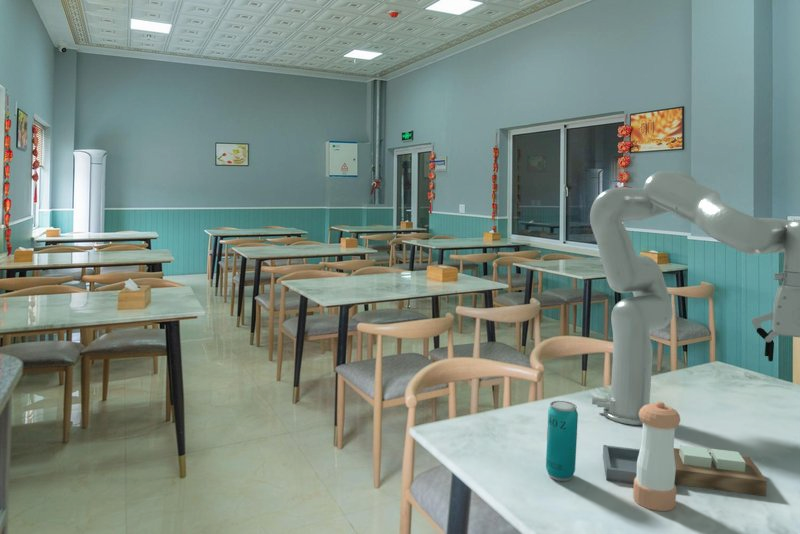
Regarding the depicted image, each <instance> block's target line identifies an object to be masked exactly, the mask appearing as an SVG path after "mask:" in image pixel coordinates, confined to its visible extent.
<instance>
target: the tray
mask: <svg viewBox="0 0 800 534" xmlns="http://www.w3.org/2000/svg"><path fill="white" fill-rule="evenodd" d="M602 447H603V448H602V459H603V466H604V472H605V480H606V481H608V482H609V481H611V482H615V483H616V482H617V483H623V484H624V483H625V484H632V485H634V479H635V477H637V460H638V455H639V451H640V448H639V449H638V448H630V447H623V446H614V445H606V444H603V446H602ZM675 479H676V478H675ZM674 484H675V481H674ZM675 485H676V484H675Z"/></svg>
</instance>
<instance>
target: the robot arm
mask: <svg viewBox="0 0 800 534" xmlns="http://www.w3.org/2000/svg"><path fill="white" fill-rule="evenodd" d="M667 213H672V214H673V215H676V216H677V217H679V218H681V219H683V220H686V221H688V222H690V223H692V224H693V225H695V226H696V227H698V229H700V230H701V231H702V232H703V233H704V234H706V235H707V236H708V237H711V238H712V239H714V240H716V241H718V242H719V243H721V244H723V245H726V246H728V247H730V248H732V249H734V250H736V251H739V252H741V253H744V254H748V255H763V254H766V255H768V254H776V253H778V254H779V253H784V254H783V255H784V257H783V268H782V269H783V270H782V271H781V272H780V273H774V275H773V276H774V277H773V278H774V281H779V282H780V283H782V284H780V285H778V286H777V289H776V293H775V296H774V300H773V307H772V311H771V312H768V313H765V314H761V315H758V316H756V317H753V318H751V322H752V323H751V324H752V325H753V326H754V329H755V331H756V333H757V334H758V335H759V336H760V337H761V338H762V339H763V340H764V341H765V343H764V344H765V346H764V356H765V357H767V359H768V362H773V361H774V353H775V352H774V351H775V342H774V339H775V338H777V337H778V336H783V337H793V338H794V337H795V338H800V219H794V220H791V219H784V218H778V217H777V218H776V217H754V216H752V215H749V214H746V213H745V212H743V211H740V210H739V209H736V208H733V207H732V206H731V205H728V204H726V203H725V202H723V201H722V200H721V195H720V193H719V192H718V191H717V190H714V189H712V188H709V187H707V186H705V185H702V184H700V183H697V181H696V179H695V178H694V177H693V176H692V175H690V174H688V172H687V173H686V172H683V171H673V170H672V171H671V170H660V171H657V172H654V173H653V174H651V175H650V176H649V177H647V179H646V180H645V182H644V186H643V187H641V188H639V187H623V186H622V187H621V186H620V187H612V188H609V189H606V190H603V191H602V192H600V194H598V195H597V196H596V198H595V199H594V201H593V203H592V205H591V208H590V211H589V223H590V226H591V230H592V232H593V236H594V238H595V241H596V245H597V247H598V252H599V257H600V259H601V264H602V266H603V271H604V273H605V274H604V275H605V278H606V281H607V283H608V286H609V287H610V289H611V290H613V291H614V292H615V293H619V294H626V293H627V294H628V293H632V295H633V296H630V297H627V298H626V297H625V298H623V299H621V300H620V301H618V302H617V303H615V305H614V307H613V309H611V310H612V311H611V314H610V315H611V316H610V319H611V320H610V321H611V329H612V330H611V331H612V338H613V339H612V342H613V343H612V344H613V345H612V346H613V347H612V366H611V367H612V368H611V382H610V383H611V388H610V394H609V393H608V397H606V396H604V397H603V398H602V397H597V396H596V397H595V396H591V405H596V407H597V408H603V415H604V416H605V417H606V418H607V419H610V420H611V421H614V422H618V423H620V424H625V425H632V426H643V422H642V421H641V420H640V418H639V411H640V409H641V408H642V407H643V406H644V405H648V404H651V403H650V400H651V388H652V369H653V353H654V352H653V344H652V340H651V337H650V336H651V335H650V333H651V332H655V331H659V330H662V329H664V328H666V327H667V326H669V324H670V323H671V321H672V318H673V315H674V314H673V313H674V312H673V306H672V302H671V298H670V294H669V292H668V288H667V284H666V281H665V276H664V275H663V272H662V269H661V267H660V266H659V264H658V263H657V261H655V260H654V259H653V258H652V257H651V256H647V255H642V254H641V255H637V253H636V250H635V247H634V245H633V244H634V243H633V240H632V236H631V235H630V233H629V231H628V229H626V228H625V226H624V223H623V222H624V221H643V220H648V219H652V218H655V217H657V216H660V215H664V214H667ZM768 321H771V329H770V330H769V331H768V332H767V331H766V330H765V329H764V328H763V326H762V323H766V322H768Z"/></svg>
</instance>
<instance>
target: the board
mask: <svg viewBox="0 0 800 534" xmlns="http://www.w3.org/2000/svg"><path fill="white" fill-rule="evenodd" d="M679 449H680V448H675V447H674V457H675V467H676V472H675V478H676V479H675V485H681V486H688V487H695V488H702V489H710V490H717V491H726V492H733V493H741V494H748V495H756V496H763V497H766V495H767V487H768V486H767V485H768V480H767V479H766V478H765V476H764V475H763V473H762V472H761V471H760V469H759V468H758V466H757V465H756V464H755V463H754V461H753V460H752V458H751V457H750V456H744V455H741V456H742V458H743V459H744V461H745V462H746V463H745V472H741V471H733V470H725V469H717V468H716V466H715V465H714V463H713V461H712V463H711V468H709V467H701V466H693V465H685V464H683V462H682V459H681V457H680V455H679ZM708 452H709V451H708ZM709 454H710V456H711V451H710V452H709Z"/></svg>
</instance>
